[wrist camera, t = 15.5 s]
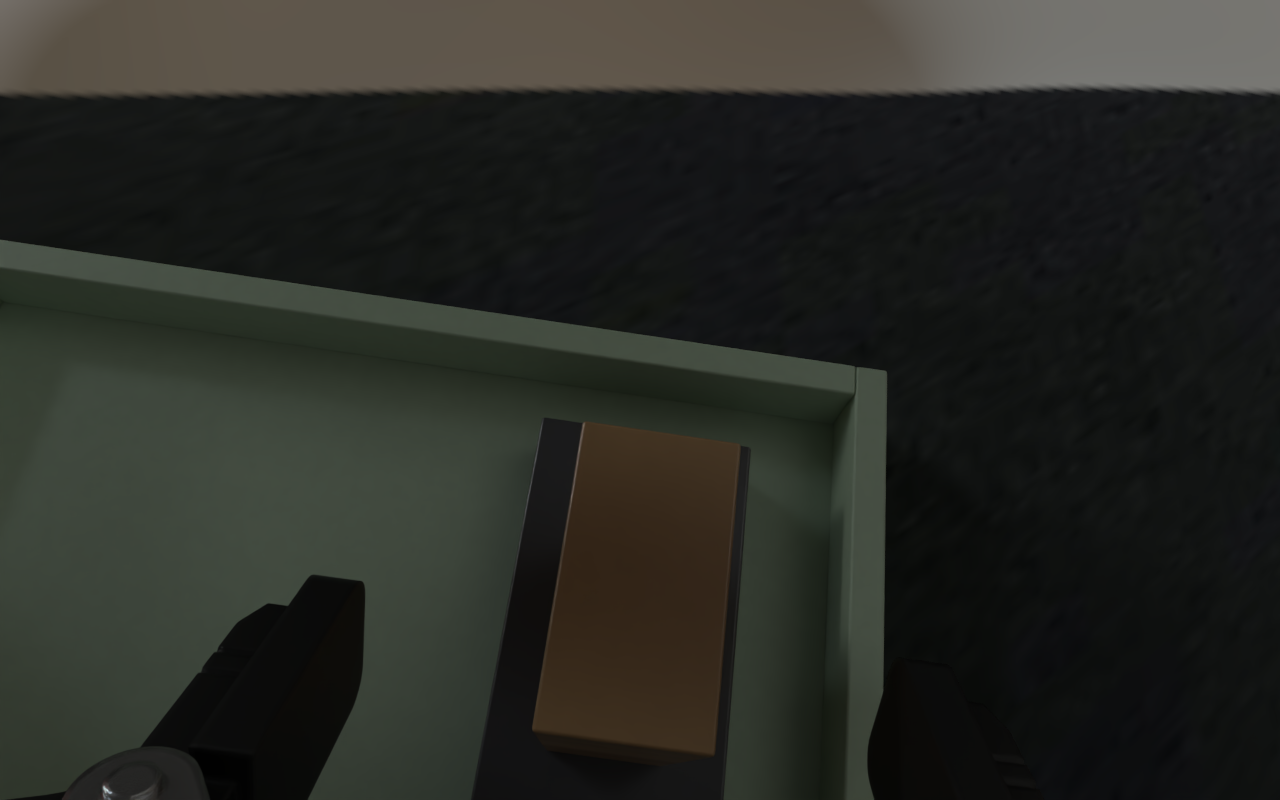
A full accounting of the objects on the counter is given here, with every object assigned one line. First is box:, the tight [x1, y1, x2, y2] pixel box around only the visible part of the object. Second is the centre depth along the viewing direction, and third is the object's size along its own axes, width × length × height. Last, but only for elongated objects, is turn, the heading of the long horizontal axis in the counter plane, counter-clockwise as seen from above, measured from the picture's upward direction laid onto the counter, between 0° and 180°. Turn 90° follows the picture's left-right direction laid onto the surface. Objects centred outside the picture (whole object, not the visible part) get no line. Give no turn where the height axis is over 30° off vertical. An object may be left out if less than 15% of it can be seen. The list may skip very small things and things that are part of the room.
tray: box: [0, 240, 887, 800], centre depth 20 cm, size 24×15×3 cm, turn 83°
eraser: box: [471, 418, 751, 800], centre depth 16 cm, size 10×5×9 cm, turn 173°
